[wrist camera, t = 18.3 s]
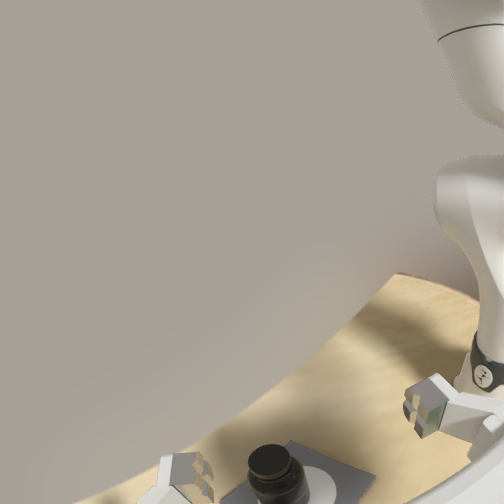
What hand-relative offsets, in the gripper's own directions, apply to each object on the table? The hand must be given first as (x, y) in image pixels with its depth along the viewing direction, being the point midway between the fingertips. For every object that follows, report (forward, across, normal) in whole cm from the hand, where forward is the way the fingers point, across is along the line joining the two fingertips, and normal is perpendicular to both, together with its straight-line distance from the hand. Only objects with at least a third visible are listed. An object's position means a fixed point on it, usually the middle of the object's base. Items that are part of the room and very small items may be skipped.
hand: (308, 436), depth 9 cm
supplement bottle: (+12, +4, +31) cm, 33 cm away
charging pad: (+12, +2, +32) cm, 34 cm away
